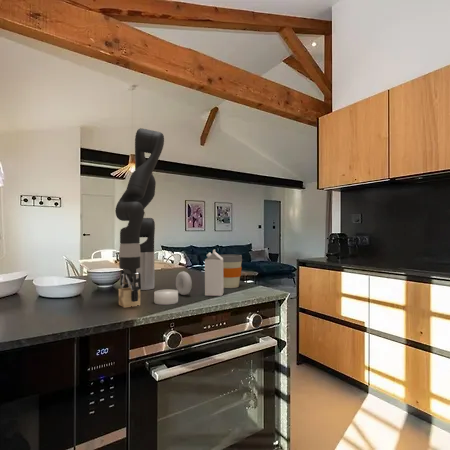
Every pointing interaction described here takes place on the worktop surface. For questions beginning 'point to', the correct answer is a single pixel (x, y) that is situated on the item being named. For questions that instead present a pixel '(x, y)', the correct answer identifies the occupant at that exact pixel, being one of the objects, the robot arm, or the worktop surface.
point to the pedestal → (165, 297)
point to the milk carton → (214, 275)
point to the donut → (187, 285)
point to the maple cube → (127, 298)
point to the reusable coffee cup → (231, 270)
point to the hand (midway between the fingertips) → (130, 299)
